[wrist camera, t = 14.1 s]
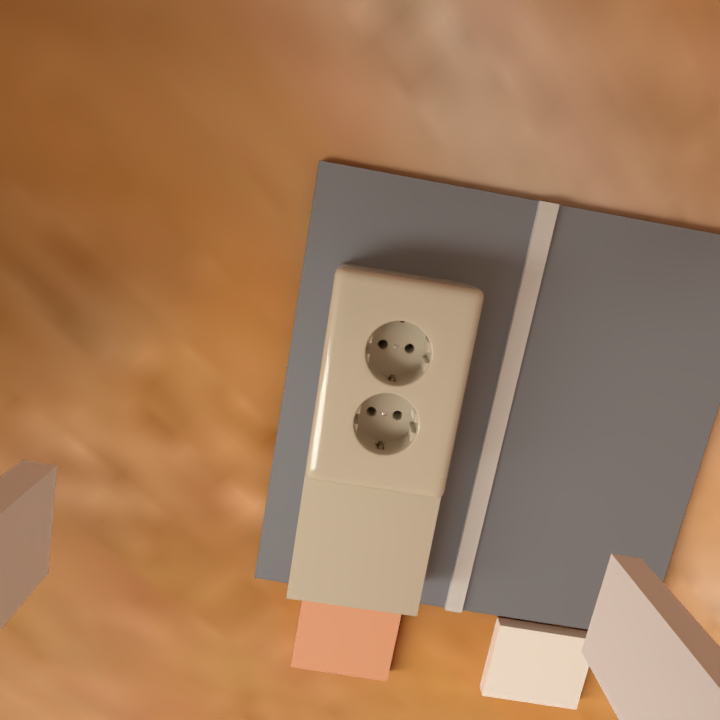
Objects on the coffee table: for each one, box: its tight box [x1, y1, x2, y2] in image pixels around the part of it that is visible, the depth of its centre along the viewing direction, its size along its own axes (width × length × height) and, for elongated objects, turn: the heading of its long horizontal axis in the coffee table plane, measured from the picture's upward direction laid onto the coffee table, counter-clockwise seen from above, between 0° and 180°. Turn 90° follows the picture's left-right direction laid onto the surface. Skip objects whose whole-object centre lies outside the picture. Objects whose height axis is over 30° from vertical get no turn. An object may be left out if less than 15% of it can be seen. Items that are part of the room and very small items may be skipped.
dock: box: [255, 160, 720, 710], centre depth 35 cm, size 24×30×1 cm
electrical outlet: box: [286, 263, 484, 616], centre depth 32 cm, size 7×4×18 cm
